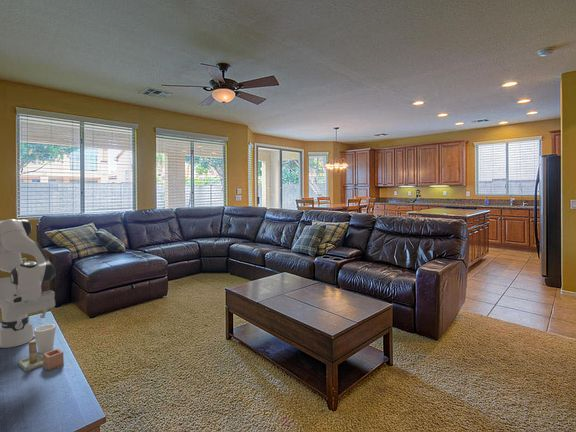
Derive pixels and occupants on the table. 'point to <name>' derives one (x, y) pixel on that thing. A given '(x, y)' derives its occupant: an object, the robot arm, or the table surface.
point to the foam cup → (45, 337)
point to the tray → (27, 366)
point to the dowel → (32, 352)
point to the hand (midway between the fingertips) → (31, 320)
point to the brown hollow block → (53, 359)
